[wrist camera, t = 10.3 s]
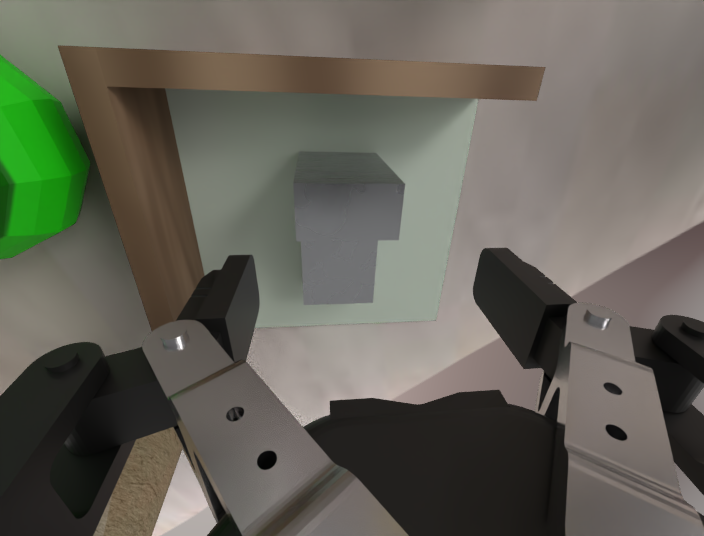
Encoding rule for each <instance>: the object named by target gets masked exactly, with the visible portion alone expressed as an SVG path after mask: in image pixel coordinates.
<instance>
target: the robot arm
mask: <svg viewBox="0 0 704 536" xmlns="http://www.w3.org/2000/svg"><path fill="white" fill-rule="evenodd" d="M473 295H474V299H475V302H476V304H477V305H478V306H479V308H480V309H481V311H482V312H483V313H484V315H485V316H486V318H487V319H488V320H489V322H490V323H491V324H492V326H493V327H494V329H495V330H496V331H497V333H498V334H499V335H500V337H501V338H502V340H503V341H504V342H505V344H506V345H507V346H508V348H509V349H510V351H511V352H512V353H513V355H514V356H515V357H516V359H517V360H518V362H519V363H520V364H521V366H522V367H523V368H524V369H531V368H542V369H543V370H544V371H543V373H542V376H541V378H540V382H539V389H538V394H537V400H536V407H535V411H532V410H529V409H526V408H523V407H520V406H516V405H512V404H507V402H506V401H505V399H504V397H503V395H502V394H501V392H500V391H499V390H490V391H475V392H459V393H456V394H453V395H449V396H447V397H443V398H440V399H437V400H434V401H431V402H428V403H425V404H420V405H416V404H415V405H414V404H408V403H401V402H395V401H389V400H382V399H376V398H366V399H351V400H336V401H330V415H328V416H325V417H322V418H320V419H317V420H315V421H313V422H311V423H309V424H308V425H306V426H304V427H302V426H301V424H300V423H299V422H298V421H297V420H296V419H295V418H294V416H293V415H292V414H291V413H290V412H289V411H288V409H287V408H286V407H285V406H284V405H283V404H282V402H281V401H280V400H279V399H278V398H277V397H276V395H275V394H274V393H273V392H272V391H271V390H270V388H269V387H268V386H267V385H266V384H265V383H264V382H263V380H262V379H261V378H260V377H259V376H258V375H257V373H256V372H255V371H254V370H253V369H252V368H251V366H250V365H249V364H248V363H247V362H246V358H247V355H248V351H249V347H250V343H251V339H252V336H253V332H254V328H255V324H256V320H257V317H258V313H259V306H260V297H259V289H258V282H257V275H256V269H255V262H254V258H253V255H229V256H228V257H227V259H226V261H225V263H224V265H223V267H222V269H221V270H212V271H211V272H209V273H208V274H207V275H205V276H204V277H203V278H201V280H200V282H199V283H198V285H197V287H196V289H195V290H194V292H193V293H192V295H191V297H190V298H189V300H188V301H187V303H186V305H185V306H184V308H183V310H182V311H181V313H180V315H179V316H178V318H177V320H176V321H173V322H170V323H167V324H164V325H162V326H160V327H158V328H156V329H155V330H153V331H152V332H151V333H150V334H149V335H148V336H147V337H146V338H145V340H144V341H143V344H142V347H141V348H137V349H134V350H130V351H126V352H122V353H118V354H114V355H110V356H106V357H105V356H104V354H103V351H102V349H101V347H100V346H99V345H97V344H95V343H90V342H80V343H74V344H69V345H66V346H63V347H60V348H57V349H55V350H53V351H50V352H48V353H47V354H45V355H43V356H41V357H40V358H38V359H37V360H35V361H34V362H33V363H32V364H31V365H30V366H28V367H27V369H26V370H25V371H24V372H23V373H22V374H21V375H20V376H19V377H18V378H17V379H16V380H15V381H14V382H13V383H12V384H11V385H10V386H9V388H8V389H7V390H6V391H5V392H4V393H3V394H2V395H1V396H0V536H93V535H94V533H95V531H96V528H97V526H98V524H99V522H100V519H101V517H102V515H103V513H104V510H105V508H106V506H107V504H108V502H109V499H110V497H111V495H112V493H113V490H114V488H115V486H116V484H117V481H118V479H119V477H120V475H121V473H122V470H123V468H124V466H125V464H126V461H127V459H128V457H129V455H130V452H131V450H132V448H133V446H134V444H135V441H136V439H139V438H142V437H145V436H148V435H151V434H154V433H157V432H160V431H163V430H166V429H169V428H172V427H173V430H174V432H175V434H176V436H177V438H178V440H179V442H180V444H181V446H182V448H183V450H184V453H185V455H186V457H187V459H188V461H189V463H190V465H191V467H192V469H193V471H194V473H195V475H196V477H197V479H198V482H199V484H200V486H201V488H202V491H203V493H204V495H205V498H206V500H207V502H208V505H209V507H210V509H211V511H212V514H213V516H214V518H215V520H216V522H217V524H216V526H215V527H214V528H213V529H212V530H211V531H210V533H209V534H208V535H207V536H704V516H703V515H702V514H700V513H698V512H697V511H696V510H695V509H694V508H693V506H691V505H689V504H688V503H687V502H686V501H685V500H684V499H683V497H682V494H681V491H680V487H679V482H678V479H677V474H676V469H675V465H674V462H675V463H676V464H677V466H678V467H679V468H680V469H681V470H682V471H683V472H684V473H685V474H686V476H687V477H688V478H689V479H690V480H691V481H692V483H693V484H694V485H695V486H696V487H697V488H698V489H699V491H700V492H701V493H702V494H703V495H704V415H703V414H702V413H701V412H699V411H698V410H697V409H696V408H695V407H694V406H693V405H692V402H693V401H694V400H695V398H696V397H697V396H698V394H699V393H700V392H701V390H702V389H703V388H704V322H702V321H699V320H696V319H693V318H689V317H684V316H678V315H667V316H664V317H662V318H661V319H660V321H659V323H658V325H657V326H656V328H655V330H651V329H644V328H638V327H631V326H629V324H628V322H627V321H626V320H625V319H624V318H623V317H622V316H621V315H619V314H618V313H616V312H614V311H613V310H610V309H608V308H606V307H603V306H600V305H596V304H592V303H583V302H579V303H577V302H576V301H575V300H574V299H572V298H571V297H570V296H569V295H568V294H566V293H565V292H564V291H563V290H562V289H560V288H559V287H558V286H557V285H556V284H553V282H552V281H551V280H550V279H549V278H547V277H545V275H544V274H543V273H541V272H540V271H539V270H538V269H537V268H535V267H533V266H531V265H529V264H527V263H525V262H523V261H522V260H521V259H520V258H518V257H517V256H516V255H515V254H514V253H513V252H511V251H510V250H509V249H508V248H485V249H483V250H482V252H481V254H480V259H479V263H478V268H477V272H476V277H475V281H474V286H473Z"/></svg>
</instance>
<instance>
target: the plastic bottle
mask: <svg viewBox="0 0 704 536" xmlns="http://www.w3.org/2000/svg"><path fill="white" fill-rule="evenodd" d="M89 168H90V161H89V159H88V157H87V155H86V153H85V151H84V149H83V147H82V145H81V143H80V141H79V139H78V136H77V134H76V132H75V130H74V128H73V126H72V124H71V122H70V120H69V118H68V116H67V114H66V112H65V110H64V108H63V106H62V104H61V102H60V101H58V100H57V99H56V98H55V97H53V96H52V95H51V94H49V93H48V92H47V91H46V90H44V89H43V88H42V87H41V86H39V85H38V84H37V83H36V82H34V81H33V80H32V79H30V78H29V77H28V76H27V75H25V74H24V73H23V72H22V71H20V70H19V69H18V68H16V67H15V66H14V65H13V64H11V63H10V62H9V61H8V60H6V59H5V58H4V57H3V56H1V55H0V259H5V258H12V257H14V256H16V255H18V254H19V253H21V252H23V251H25V250H27V249H29V248H31V247H33V246H35V245H37V244H38V243H40V242H42V241H44V240H46V239H48V238H50V237H52V236H54V235H55V234H57V233H59V232H61V231H63V230H65V229H66V228H68V227H70V226H71V225H73V224H75V223H76V221H77V218H78V216H79V213H80V210H81V206H82V201H83V196H84V192H85V187H86V182H87V177H88V173H89Z"/></svg>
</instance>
